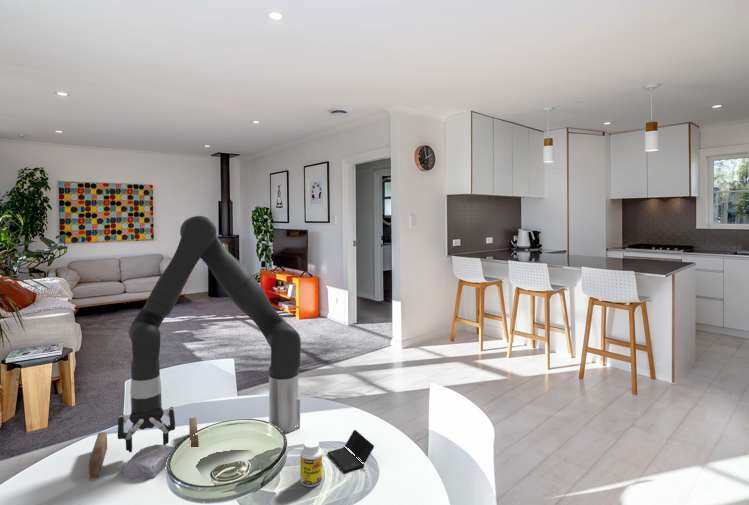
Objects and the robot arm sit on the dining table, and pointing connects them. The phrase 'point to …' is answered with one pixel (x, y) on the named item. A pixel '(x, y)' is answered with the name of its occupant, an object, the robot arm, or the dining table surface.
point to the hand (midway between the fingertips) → (147, 447)
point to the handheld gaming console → (348, 460)
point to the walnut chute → (101, 449)
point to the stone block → (147, 462)
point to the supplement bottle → (311, 464)
